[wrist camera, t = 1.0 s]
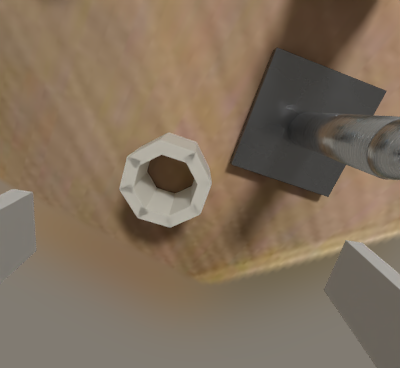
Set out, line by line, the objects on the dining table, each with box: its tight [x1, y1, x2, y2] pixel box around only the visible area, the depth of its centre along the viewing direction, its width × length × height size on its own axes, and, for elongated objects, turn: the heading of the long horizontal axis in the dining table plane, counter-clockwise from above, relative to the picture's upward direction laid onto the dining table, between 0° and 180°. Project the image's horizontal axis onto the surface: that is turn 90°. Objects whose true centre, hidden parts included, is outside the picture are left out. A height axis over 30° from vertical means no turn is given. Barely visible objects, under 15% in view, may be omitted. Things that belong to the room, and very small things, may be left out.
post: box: [230, 48, 400, 197], centre depth 18 cm, size 12×12×15 cm
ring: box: [119, 132, 212, 228], centre depth 24 cm, size 8×8×6 cm
